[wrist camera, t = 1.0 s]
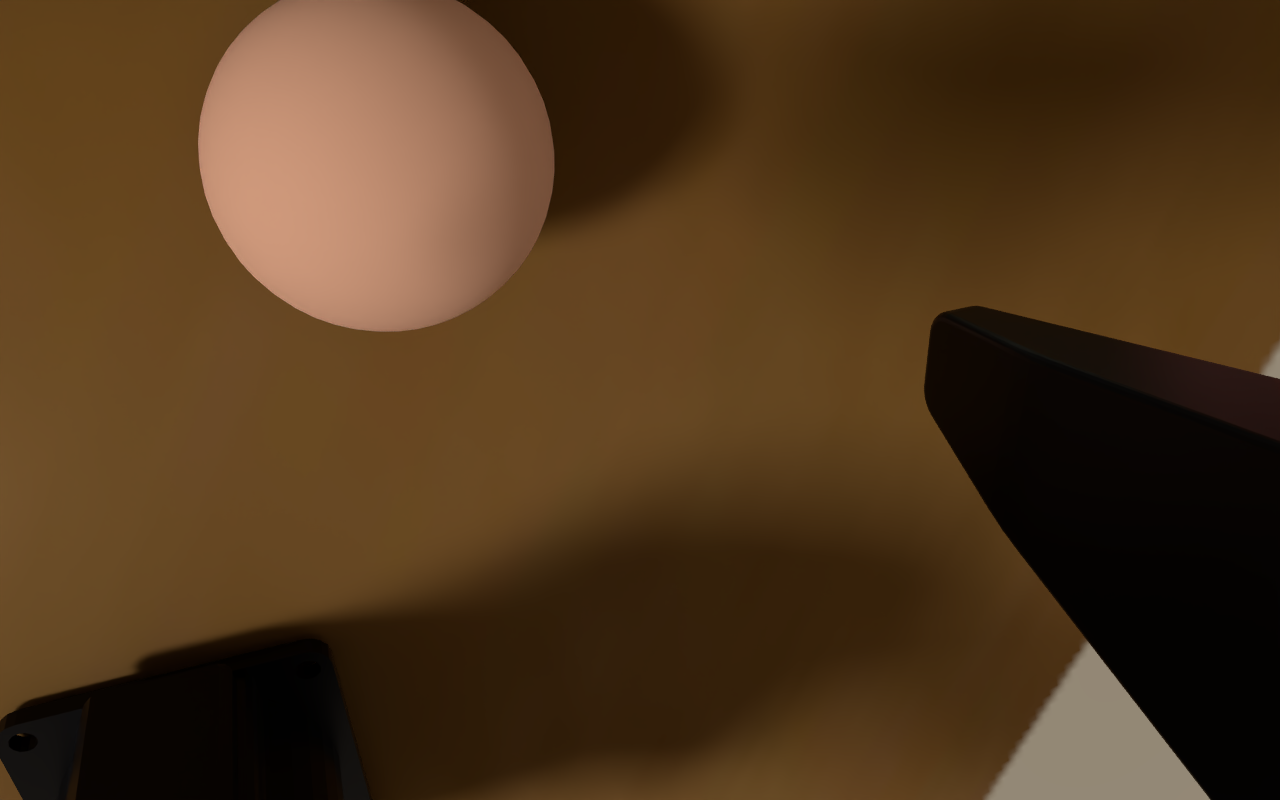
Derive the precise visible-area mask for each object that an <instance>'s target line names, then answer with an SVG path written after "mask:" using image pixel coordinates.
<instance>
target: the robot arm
mask: <svg viewBox="0 0 1280 800" xmlns="http://www.w3.org/2000/svg"><path fill="white" fill-rule="evenodd" d="M924 394H925V400H926V404H927V407H928V409H929V411H930V413H931V415H932V417H933V419H934V420H935V422H936V424H937V425H938V427H939V428H940V430H941V432H942V433H943V435H944V437H945V438H946V440H947V442H948V443H949V445H950V446H951V448H952V450H953V451H954V453H955V455H956V456H957V458H958V460H959V461H960V463H961V464H962V466H963V468H964V469H965V471H966V473H967V474H968V476H969V478H970V479H971V481H972V483H973V484H974V486H975V487H976V489H977V491H978V492H979V494H980V496H981V497H982V499H983V501H984V502H985V504H986V505H987V507H988V509H989V510H990V512H991V513H992V515H993V516H994V518H995V519H996V521H997V522H998V524H999V525H1000V527H1001V529H1002V530H1003V531H1004V533H1005V534H1006V535H1007V537H1008V538H1009V540H1010V541H1011V542H1012V544H1013V545H1014V546H1015V548H1016V549H1017V550H1018V552H1019V553H1020V554H1021V556H1022V557H1023V558H1024V559H1025V561H1026V562H1027V563H1028V565H1029V566H1030V567H1031V568H1032V570H1033V571H1034V572H1035V574H1036V575H1037V576H1038V577H1039V579H1040V580H1041V581H1042V583H1043V584H1044V585H1045V587H1046V588H1047V589H1048V590H1049V592H1050V593H1051V594H1052V596H1053V597H1054V598H1055V599H1056V601H1057V602H1058V603H1059V605H1060V606H1061V607H1062V608H1063V610H1064V611H1065V612H1066V614H1067V615H1068V616H1069V618H1070V619H1071V620H1072V621H1073V623H1074V624H1075V625H1076V627H1077V628H1078V629H1079V630H1080V632H1081V633H1082V634H1083V636H1084V637H1085V638H1086V639H1087V641H1088V642H1089V643H1090V645H1091V646H1092V647H1093V649H1094V650H1095V651H1096V652H1097V654H1098V655H1099V656H1100V658H1101V659H1102V660H1103V661H1104V663H1105V664H1106V665H1107V667H1108V668H1109V669H1110V670H1111V672H1112V673H1113V674H1114V676H1115V677H1116V678H1117V679H1118V681H1119V682H1120V683H1121V685H1122V686H1123V687H1124V689H1125V690H1126V691H1127V692H1128V694H1129V695H1130V696H1131V698H1132V699H1133V700H1134V701H1135V703H1136V704H1137V705H1138V707H1140V709H1141V710H1142V712H1143V713H1144V714H1145V716H1146V717H1147V718H1148V720H1149V721H1150V722H1151V723H1152V725H1153V726H1154V727H1155V729H1156V730H1157V731H1158V732H1159V734H1160V735H1161V736H1162V738H1163V739H1164V740H1165V742H1166V743H1167V744H1168V745H1169V747H1170V748H1171V749H1172V751H1173V752H1174V753H1175V754H1176V756H1177V757H1178V758H1179V759H1180V761H1181V762H1182V763H1183V765H1184V766H1185V767H1186V769H1187V770H1188V771H1189V773H1190V774H1191V775H1192V776H1193V778H1194V779H1195V780H1196V781H1197V783H1198V784H1199V785H1200V787H1201V788H1202V789H1203V791H1204V792H1205V793H1206V794H1207V796H1208V797H1209V798H1210V800H1280V379H1278V378H1273V377H1269V376H1265V375H1261V374H1257V373H1253V372H1249V371H1245V370H1241V369H1236V368H1232V367H1228V366H1224V365H1220V364H1216V363H1212V362H1208V361H1204V360H1199V359H1195V358H1191V357H1187V356H1183V355H1179V354H1175V353H1171V352H1167V351H1162V350H1158V349H1154V348H1150V347H1146V346H1142V345H1138V344H1134V343H1130V342H1125V341H1121V340H1117V339H1113V338H1109V337H1105V336H1101V335H1097V334H1093V333H1088V332H1084V331H1080V330H1076V329H1072V328H1068V327H1064V326H1060V325H1056V324H1051V323H1047V322H1043V321H1039V320H1035V319H1031V318H1027V317H1023V316H1019V315H1014V314H1010V313H1006V312H1002V311H998V310H994V309H990V308H986V307H982V306H970V307H965V308H960V309H956V310H951V311H946V312H943V313H940V314H939V315H938V316H937V317H936V318H935V319H934V321H933V323H932V325H931V330H930V338H929V347H928V356H927V365H926V374H925V383H924ZM305 661H314V662H316V663H314V664H312V665H309V666H302V665H299V664H301V663H303V662H305ZM21 733H28V734H31V735H32V736H26V737H22V736H19V735H17V734H21ZM0 759H1V761H2V762H3V764H4V766H5V768H6V770H7V772H8V773H9V775H10V777H11V779H12V781H13V782H14V784H15V786H16V788H17V790H18V792H19V793H20V795H21V797H22V799H23V800H372V797H371V793H370V790H369V786H368V783H367V779H366V775H365V772H364V768H363V764H362V761H361V757H360V753H359V750H358V746H357V743H356V739H355V735H354V732H353V728H352V724H351V721H350V717H349V714H348V710H347V706H346V703H345V699H344V695H343V692H342V688H341V685H340V681H339V677H338V674H337V670H336V666H335V663H334V659H333V656H332V652H331V650H330V648H329V646H328V645H327V644H325V643H324V642H322V641H320V640H315V639H306V640H300V641H296V642H292V643H288V644H284V645H280V646H276V647H271V648H267V649H263V650H259V651H255V652H251V653H247V654H243V655H239V656H235V657H231V658H227V659H223V660H219V661H215V662H211V663H207V664H203V665H199V666H195V667H191V668H187V669H182V670H178V671H174V672H170V673H166V674H162V675H158V676H154V677H150V678H146V679H142V680H138V681H134V682H130V683H126V684H122V685H118V686H114V687H110V688H106V689H102V690H98V691H93V692H89V693H85V694H81V695H77V696H73V697H69V698H65V699H61V700H57V701H53V702H49V703H45V704H41V705H37V706H33V707H29V708H25V709H21V710H17V711H14V712H12V713H9V714H7V715H6V716H5V717H4V718H3V719H1V720H0Z"/></svg>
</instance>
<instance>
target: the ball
mask: <svg viewBox="0 0 1280 800" xmlns="http://www.w3.org/2000/svg"><path fill="white" fill-rule="evenodd" d="M198 148H199V165H200V172H201V177H202V182H203V187H204V192H205V196H206V199H207V201H208V204H209V207H210V210H211V213H212V216H213V218H214V220H215V222H216V223H217V225H218V227H219V229H220V231H221V233H222V235H223V237H224V239H225V240H226V242H227V244H228V245H229V246H230V248H231V249H232V251H233V252H234V254H235V255H236V256H237V258H238V259H239V261H240V262H241V263H242V264H243V265H244V266H245V267H246V269H247V270H248V271H249V272H250V273H251V274H252V275H253V276H254V277H255V278H256V279H257V280H258V281H259V282H260V283H262V284H263V285H264V286H265V287H266V288H267V289H269V290H270V291H271V292H272V293H274V294H275V295H276V296H278V297H279V298H281V299H282V300H284V301H285V302H287V303H288V304H290V305H292V306H293V307H295V308H296V309H298V310H300V311H302V312H304V313H306V314H308V315H311V316H313V317H315V318H317V319H320V320H323V321H326V322H329V323H332V324H334V325H339V326H343V327H348V328H352V329H359V330H368V331H405V330H413V329H419V328H423V327H428V326H432V325H436V324H439V323H441V322H444V321H447V320H450V319H452V318H455V317H457V316H459V315H461V314H463V313H465V312H467V311H469V310H471V309H472V308H474V307H475V306H477V305H478V304H480V303H481V302H483V301H484V300H486V299H487V298H489V297H490V296H491V295H492V294H493V293H495V292H496V291H497V290H498V289H499V288H500V287H502V286H503V285H504V284H505V283H506V282H507V281H508V280H509V279H510V277H511V276H512V275H513V274H514V273H515V272H516V271H517V270H518V269H519V267H520V266H521V264H522V263H523V262H524V260H525V259H526V257H527V256H528V255H529V253H530V251H531V249H532V248H533V246H534V244H535V242H536V240H537V238H538V236H539V234H540V232H541V229H542V226H543V224H544V221H545V219H546V215H547V212H548V207H549V203H550V199H551V195H552V190H553V181H554V172H555V169H554V147H553V140H552V133H551V127H550V121H549V118H548V115H547V111H546V108H545V104H544V101H543V99H542V97H541V94H540V92H539V90H538V88H537V85H536V83H535V81H534V79H533V77H532V76H531V74H530V72H529V71H528V69H527V68H526V66H525V64H524V63H523V61H522V59H521V58H520V56H519V55H518V53H517V52H516V51H515V50H514V49H513V47H512V46H511V45H510V44H509V42H508V41H507V40H506V39H505V38H504V37H503V36H502V35H501V34H500V33H499V32H498V31H497V30H496V29H495V28H494V27H493V26H492V25H491V24H490V23H489V22H488V21H486V20H485V19H483V18H482V17H481V16H479V15H478V14H477V13H475V12H474V11H472V10H471V9H470V8H468V7H467V6H465V5H464V4H462V3H460V2H458V1H457V0H280V1H278V2H277V3H275V4H274V5H272V6H271V7H269V8H268V9H266V10H265V11H263V12H262V13H261V14H259V15H258V16H257V17H256V18H255V19H254V20H253V21H252V22H251V23H250V24H249V25H247V26H246V27H245V28H244V29H243V30H242V31H241V33H240V34H239V35H238V36H237V38H236V39H235V40H234V41H233V43H232V44H231V45H230V46H229V47H228V49H227V51H226V52H225V54H224V56H223V58H222V59H221V61H220V63H219V64H218V66H217V68H216V70H215V73H214V75H213V78H212V80H211V82H210V85H209V87H208V90H207V93H206V96H205V100H204V104H203V108H202V113H201V117H200V126H199V137H198Z"/></svg>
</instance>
